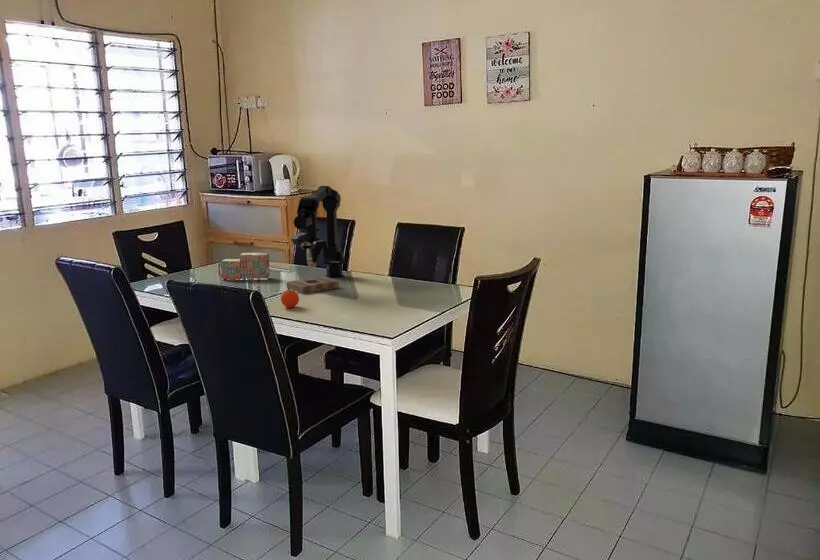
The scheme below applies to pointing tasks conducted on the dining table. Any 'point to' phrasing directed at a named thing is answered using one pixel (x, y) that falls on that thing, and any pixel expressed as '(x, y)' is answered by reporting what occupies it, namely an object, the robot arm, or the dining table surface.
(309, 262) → the peg
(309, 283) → the board
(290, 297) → the clementine
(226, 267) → the stack of blocks
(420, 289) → the dining table surface
